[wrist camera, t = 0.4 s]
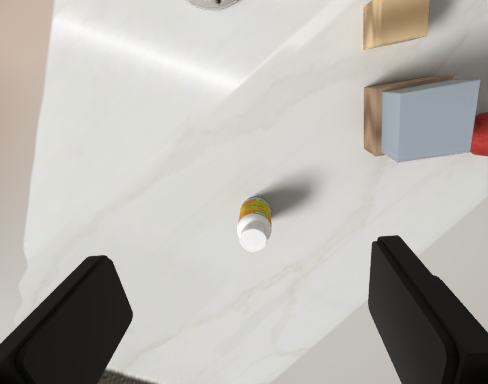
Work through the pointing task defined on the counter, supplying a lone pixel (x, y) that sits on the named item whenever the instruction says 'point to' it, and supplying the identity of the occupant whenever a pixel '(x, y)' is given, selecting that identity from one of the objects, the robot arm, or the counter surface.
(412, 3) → the oak block
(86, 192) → the counter surface
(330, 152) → the counter surface
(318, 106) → the counter surface
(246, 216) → the supplement bottle
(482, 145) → the onion
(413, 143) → the grey square block
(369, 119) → the tower base
